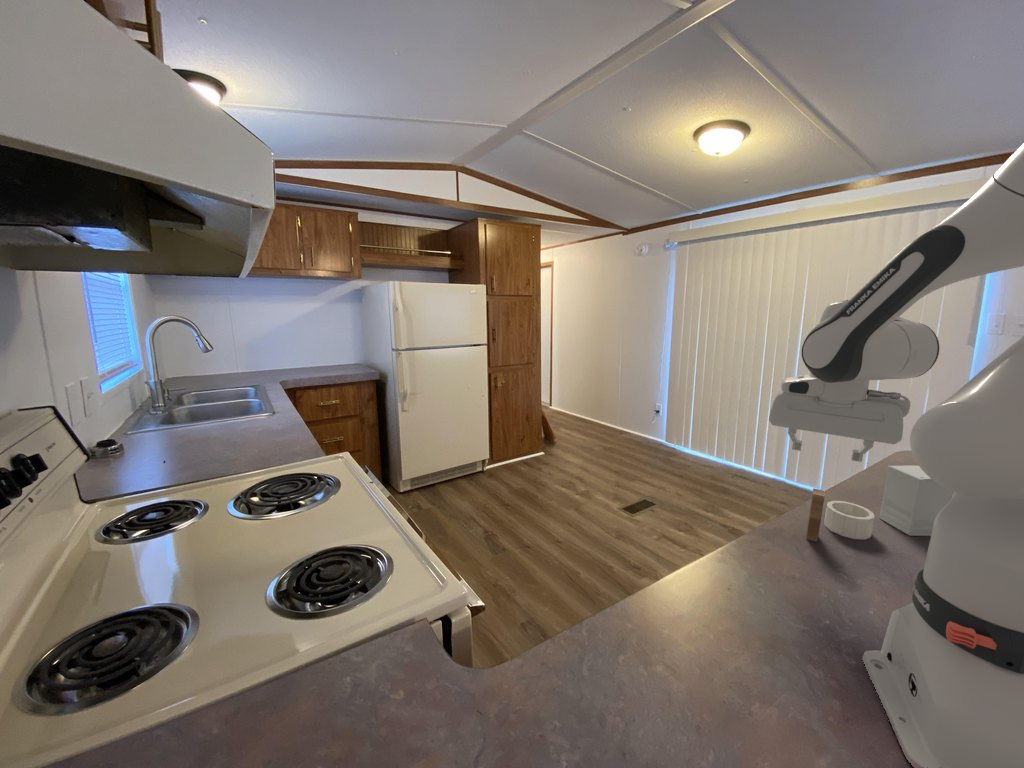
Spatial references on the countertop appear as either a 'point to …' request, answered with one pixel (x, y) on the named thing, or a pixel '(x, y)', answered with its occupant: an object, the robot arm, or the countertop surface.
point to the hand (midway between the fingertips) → (825, 454)
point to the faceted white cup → (849, 520)
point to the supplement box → (912, 500)
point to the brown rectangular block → (815, 515)
